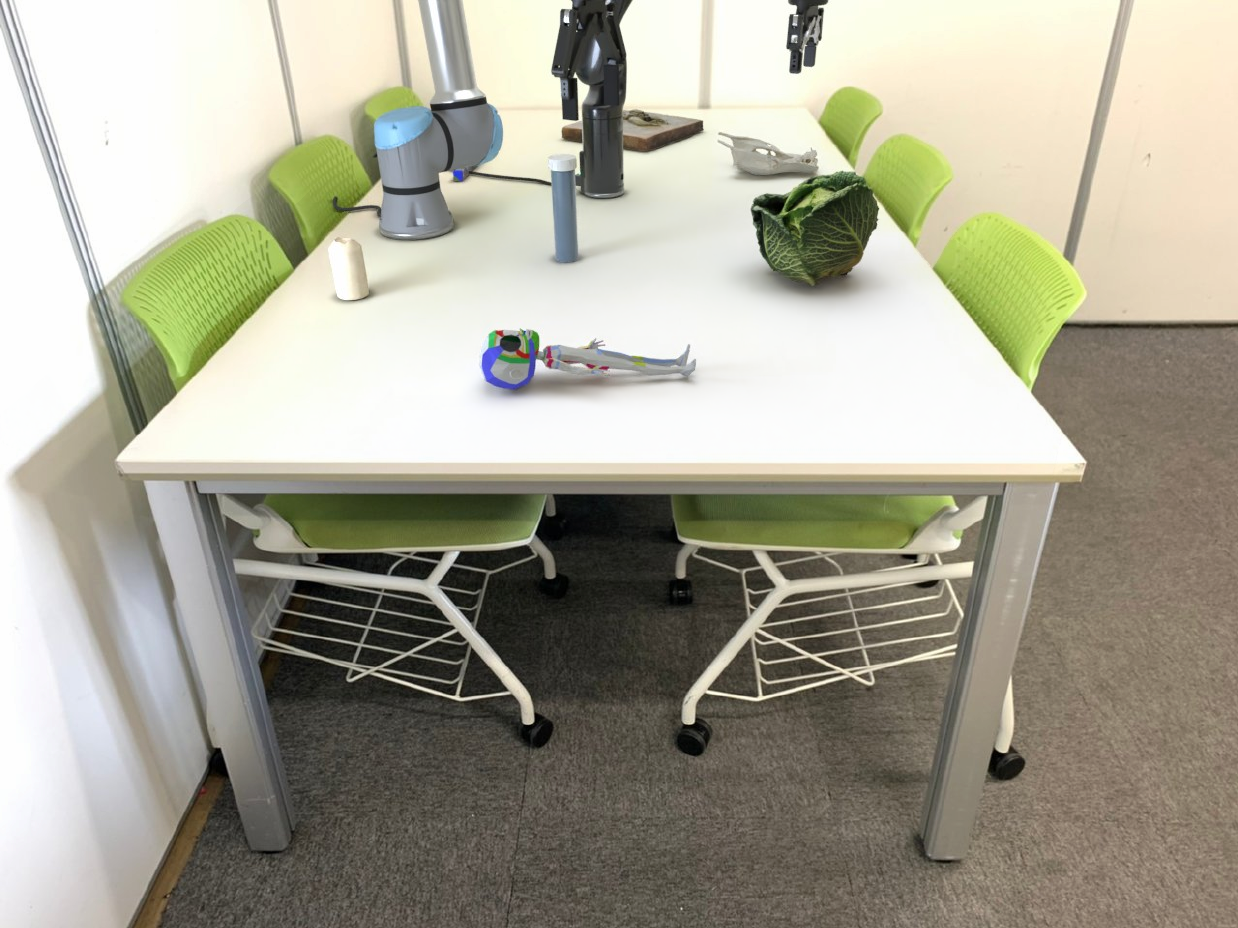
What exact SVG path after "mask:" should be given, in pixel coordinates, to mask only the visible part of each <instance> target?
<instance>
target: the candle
mask: <svg viewBox="0 0 1238 928" xmlns="http://www.w3.org/2000/svg"><path fill="white" fill-rule="evenodd" d="M362 247H363V246H362V244H361V243H359V241H357V240H355V239H353V238H348V237H340V236H338V237H336V238H334V239H333V241H332V242H331V243H330V245H329V247H327V250H328V256H329V261H330V265H331V272H332V276H333V282H334V287H335V291H336V297H337V298H338V299H340V300H342V301H343V300H344V301H354V300H361V299H363V298H366V297H368V296H369V294H370V287H369V281H368V275H367V269H366V265H365V258H364V252H363V248H362Z"/></svg>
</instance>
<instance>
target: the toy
mask: <svg viewBox="0 0 1238 928" xmlns="http://www.w3.org/2000/svg"><path fill="white" fill-rule="evenodd" d="M601 343H603V344H601ZM605 346H606V343H605V344H604V340H603V339H602V340H599V341H597V338H596V337H595V338H594V339H593V340H591V341H590V342H589V344H588V345H584V346H583V345H582V346H579V347H572V346H567V345H562V344H552V345H551V344H550V345H546V346H545V347H544V348H543V349H542V351H540V335H539V333H538V332H537V331H535V330H533V329H530V328H526V329H525V330H524V329H522V328H519V330H513V329H499V330H497V329H494V330H493V331H491V332H490V333H488V335H487V336H486V338H485V339H484V340H483V343H482V344H481V346H480V351H479V363H478V367H479V369H480V372H481V374H482V378H483V379H484V381H485V382H486V383H488V384H490V385H492V386H493V387H497V388H501V389H504V390H514V391H515V390H516V389H519V388H522V387H525V386H526V385H528V384H529V383H530V382H531V380H532V379H533V378H534V376H535V373H536V367H537V366H536V363H537V360H538V361H542V363H543V364H544V366H545V368H547V369H549V370H559V371H561V372H567V373H569V374H572V375H576V376H588V375H594V376H599V377H604V378H607V379H609V376H611V377H612V376H613V375H612V374H611V373H607V372H610V370H619V371H621V370H622V371H634V372H637V373H642V374H644V375H648V376H667V375H674V374H680V375H681V376H684V377H689V376H690V375H691V374H692V373H693V372H694V371H696V367H697V366H696V365H697V359H696V358H694V359H693V360H692V361H691V362H690V363H688V360H689V359H688V358H689V355H690V350H691V344H690V343H688V344H687V345H686V349H685V351H684V352H683V353H682V354H681V355H680V356H678V357H677V358H671V359H670V358H656V357H655V358H654V357H646V356H639V355H629V354H626V353H623V352H618V351H612V350H606V349H601V348H599V347H605ZM687 363H688V364H687ZM576 364H577V365H578V364H582V365H583V366H586V367H583V366H576Z"/></svg>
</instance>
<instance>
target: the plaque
mask: <svg viewBox="0 0 1238 928" xmlns="http://www.w3.org/2000/svg"><path fill="white" fill-rule="evenodd" d="M704 130H705V129H704V120H702V119H698V118H693V117H685V116H679V115H669V114H663V113H659V112H650V111H644V110H642V109H637V108H636V109H635V108H634V109H630V110H629V109H623V149H625V150H632V151H640V152H648V151H654V150H656V149H659V148H662V147H663V146H664V147H665V146H667V145H670V144H672V143H676V142H680V141H682V140H684V139H687V138H691V137H692V136H694V135H696V134H698V133H700V132H704ZM561 138H562V139H563V140H568V141H573V142H581V143H583V140H582V120H578V121H575V122H573V123H569V124H567V125H564V126H562V127H561Z"/></svg>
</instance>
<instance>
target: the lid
mask: <svg viewBox="0 0 1238 928" xmlns="http://www.w3.org/2000/svg"><path fill="white" fill-rule="evenodd" d="M547 161H548V163H547V164H548V165H547V166H548V170H550V171H551V170H552V171H560V172H563V171H571V170H574V169H575V170H576V169H577V167H578V162H577V156H576V155H575V154H571V153H555V154H552V155H549V156H548V159H547Z"/></svg>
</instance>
